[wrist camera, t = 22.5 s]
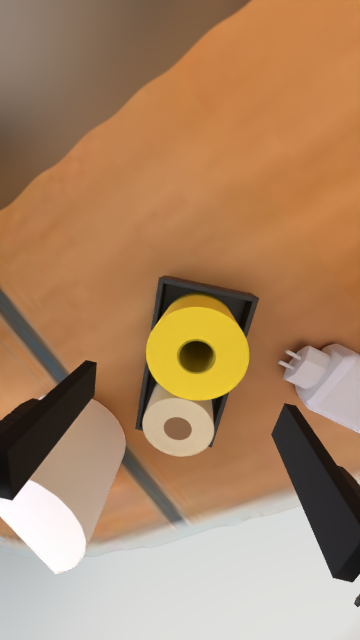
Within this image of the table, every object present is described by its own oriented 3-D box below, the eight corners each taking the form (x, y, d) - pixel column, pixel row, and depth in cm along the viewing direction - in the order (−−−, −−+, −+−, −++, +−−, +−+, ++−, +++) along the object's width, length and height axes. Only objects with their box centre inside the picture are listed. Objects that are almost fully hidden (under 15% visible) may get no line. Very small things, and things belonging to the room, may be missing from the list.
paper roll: (150, 409, 33) (137, 447, 26) (159, 362, 30) (147, 390, 24) (203, 422, 33) (205, 464, 26) (217, 375, 30) (222, 408, 23)
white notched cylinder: (5, 411, 37) (-97, 488, 24) (88, 375, 33) (17, 446, 20) (64, 484, 41) (4, 582, 29) (145, 460, 37) (116, 564, 24)
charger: (294, 321, 27) (387, 367, 28) (258, 373, 30) (344, 414, 30) (313, 333, 23) (424, 388, 23) (268, 392, 25) (369, 441, 26)
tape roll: (190, 369, 30) (186, 415, 21) (149, 319, 28) (125, 345, 19) (246, 334, 28) (269, 369, 19) (205, 276, 26) (208, 284, 17)
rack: (141, 412, 34) (135, 429, 31) (164, 275, 27) (159, 277, 24) (210, 428, 34) (211, 447, 30) (251, 293, 27) (259, 298, 23)
